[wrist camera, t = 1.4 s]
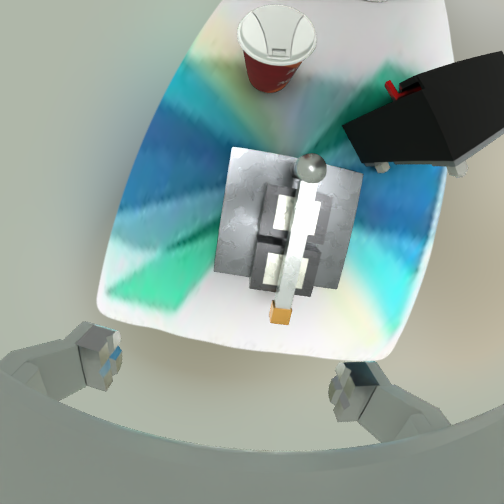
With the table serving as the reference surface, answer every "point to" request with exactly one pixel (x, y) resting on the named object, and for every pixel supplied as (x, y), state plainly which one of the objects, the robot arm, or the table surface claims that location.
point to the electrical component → (435, 117)
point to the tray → (283, 221)
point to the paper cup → (275, 45)
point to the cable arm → (297, 234)
